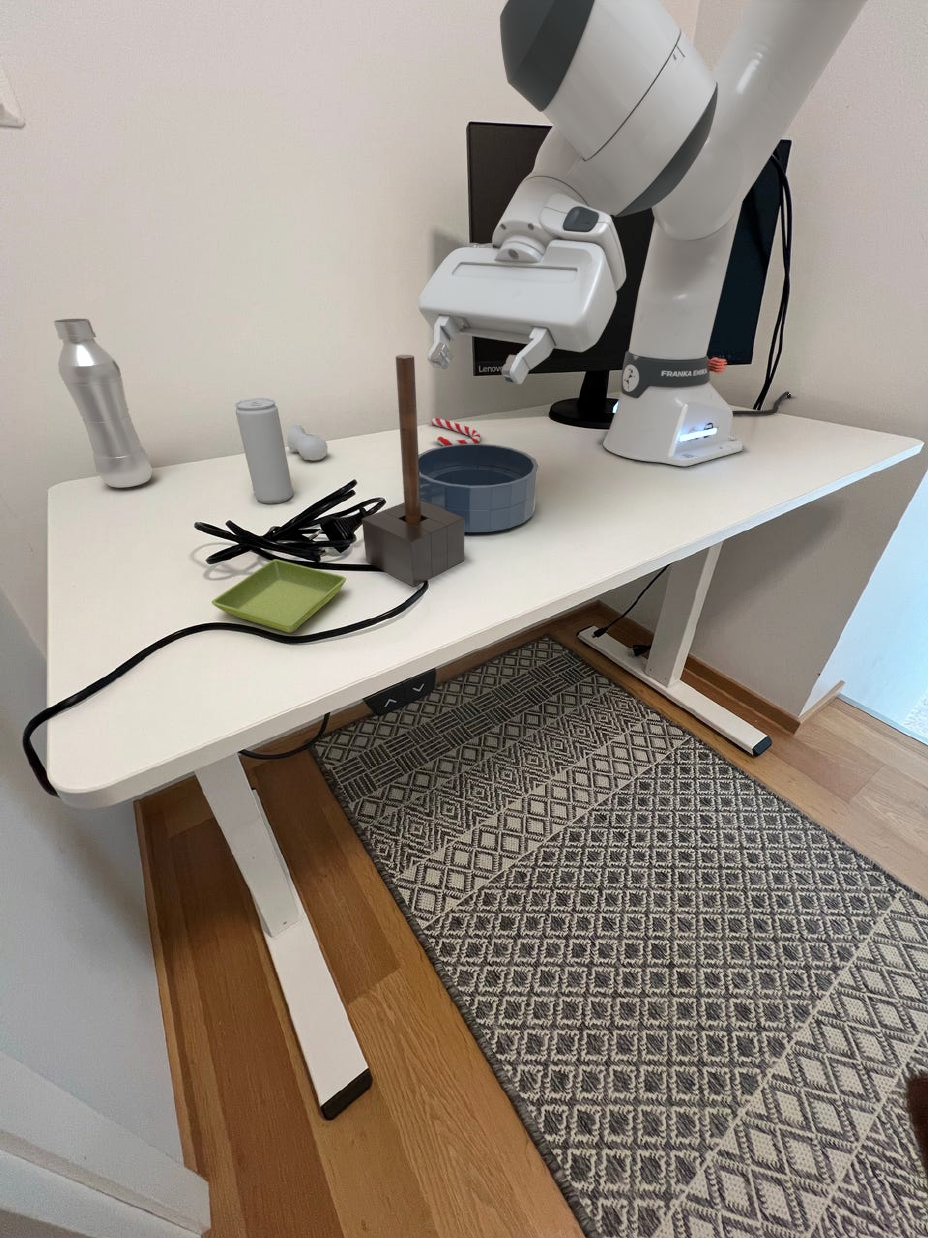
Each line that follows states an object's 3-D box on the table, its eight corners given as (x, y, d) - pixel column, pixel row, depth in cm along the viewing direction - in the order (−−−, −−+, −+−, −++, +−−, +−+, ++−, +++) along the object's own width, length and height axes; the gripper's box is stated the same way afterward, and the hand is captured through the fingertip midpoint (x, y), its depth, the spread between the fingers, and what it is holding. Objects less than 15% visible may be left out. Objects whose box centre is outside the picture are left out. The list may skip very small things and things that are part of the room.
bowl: (502, 480, 77) (504, 438, 73) (556, 524, 65) (561, 476, 62) (399, 496, 72) (396, 451, 69) (437, 546, 61) (436, 495, 57)
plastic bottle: (129, 473, 78) (72, 315, 67) (167, 479, 77) (116, 318, 65) (92, 489, 73) (23, 322, 62) (132, 496, 72) (69, 325, 60)
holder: (417, 538, 62) (415, 497, 59) (464, 560, 58) (464, 517, 55) (366, 561, 58) (361, 518, 55) (413, 587, 54) (411, 542, 51)
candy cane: (449, 414, 100) (490, 436, 89) (449, 421, 101) (490, 444, 90) (410, 420, 97) (448, 443, 86) (410, 427, 98) (448, 451, 87)
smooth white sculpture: (332, 468, 84) (300, 464, 81) (312, 452, 89) (281, 448, 86) (337, 440, 82) (304, 435, 79) (316, 426, 87) (285, 421, 84)
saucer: (350, 595, 52) (348, 576, 51) (294, 646, 46) (289, 626, 45) (278, 576, 55) (274, 558, 54) (214, 621, 49) (208, 602, 47)
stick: (420, 556, 59) (411, 353, 47) (425, 563, 58) (416, 357, 46) (406, 559, 58) (393, 355, 47) (410, 566, 57) (398, 358, 45)
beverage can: (257, 507, 69) (234, 409, 62) (254, 493, 73) (232, 399, 66) (296, 501, 70) (278, 405, 63) (291, 488, 74) (273, 396, 67)
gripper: (445, 217, 55) (379, 335, 55) (628, 215, 44) (547, 363, 44) (473, 268, 60) (413, 376, 60) (643, 278, 49) (570, 410, 49)
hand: (471, 371), depth 52 cm, fingers open, 8 cm apart
